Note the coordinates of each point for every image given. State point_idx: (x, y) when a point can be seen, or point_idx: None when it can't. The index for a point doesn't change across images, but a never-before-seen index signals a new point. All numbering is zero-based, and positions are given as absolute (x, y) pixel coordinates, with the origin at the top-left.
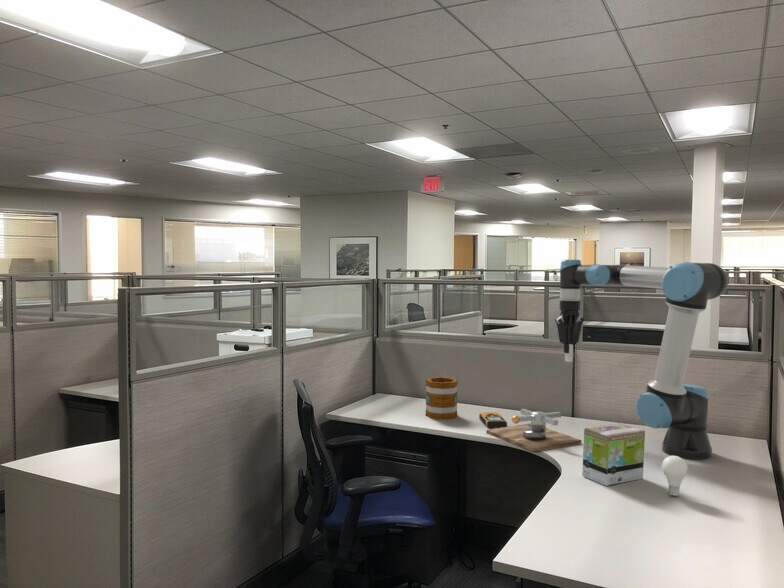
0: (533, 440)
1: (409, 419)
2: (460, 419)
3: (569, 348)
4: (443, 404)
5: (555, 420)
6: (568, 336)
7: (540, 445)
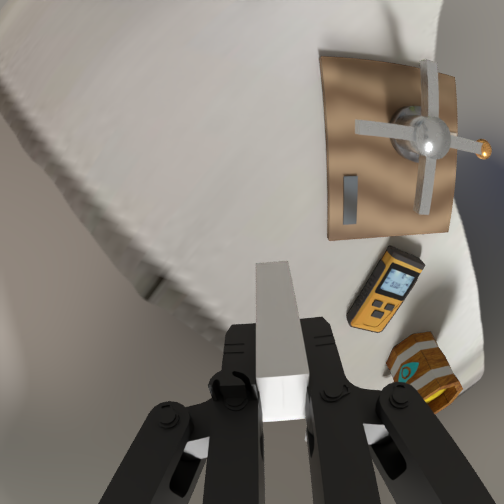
0: None
1: (459, 340)
2: (408, 326)
3: (303, 347)
4: (440, 351)
5: (432, 64)
6: (358, 477)
7: None
